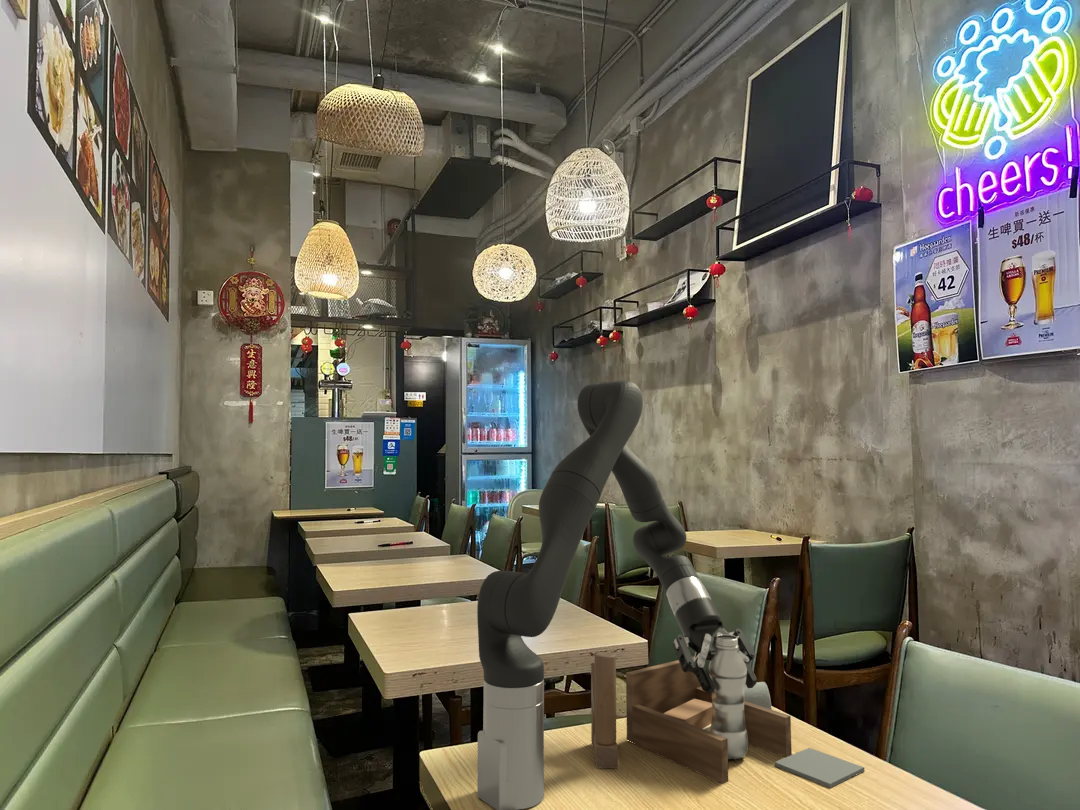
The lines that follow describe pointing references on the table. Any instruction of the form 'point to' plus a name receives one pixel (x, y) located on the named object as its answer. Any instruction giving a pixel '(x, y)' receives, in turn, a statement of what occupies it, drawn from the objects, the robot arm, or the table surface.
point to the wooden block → (604, 710)
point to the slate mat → (819, 767)
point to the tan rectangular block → (693, 713)
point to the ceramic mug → (758, 695)
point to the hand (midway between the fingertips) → (732, 688)
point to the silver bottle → (729, 695)
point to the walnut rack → (683, 741)
